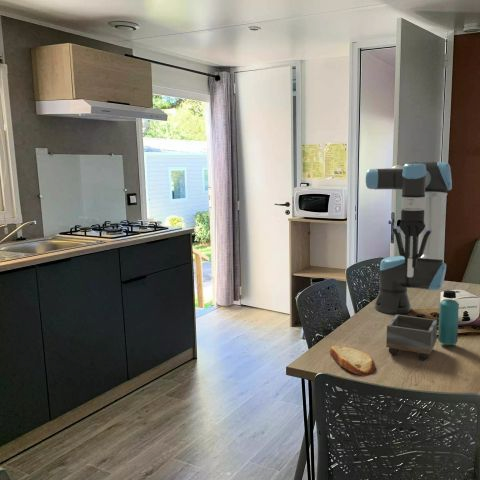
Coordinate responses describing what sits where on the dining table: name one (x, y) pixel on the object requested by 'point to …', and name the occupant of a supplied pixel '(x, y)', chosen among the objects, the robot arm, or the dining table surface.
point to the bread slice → (353, 360)
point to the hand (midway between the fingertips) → (410, 276)
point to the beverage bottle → (448, 319)
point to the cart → (411, 335)
